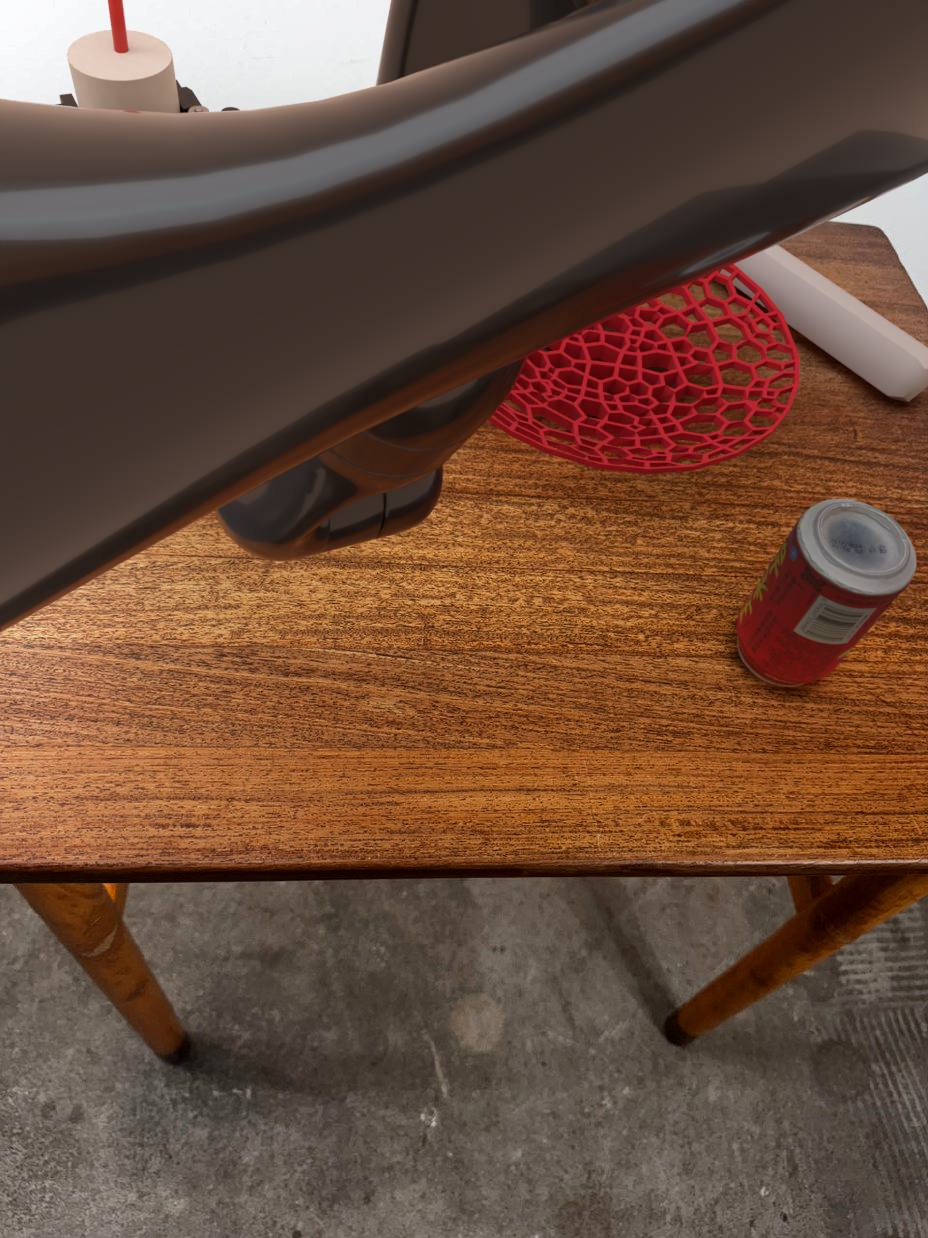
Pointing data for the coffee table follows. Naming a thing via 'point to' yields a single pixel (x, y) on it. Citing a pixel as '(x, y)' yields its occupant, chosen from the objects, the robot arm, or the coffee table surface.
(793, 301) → the tube
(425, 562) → the coffee table surface
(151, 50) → the paper cup
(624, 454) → the bowl
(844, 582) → the soda can
